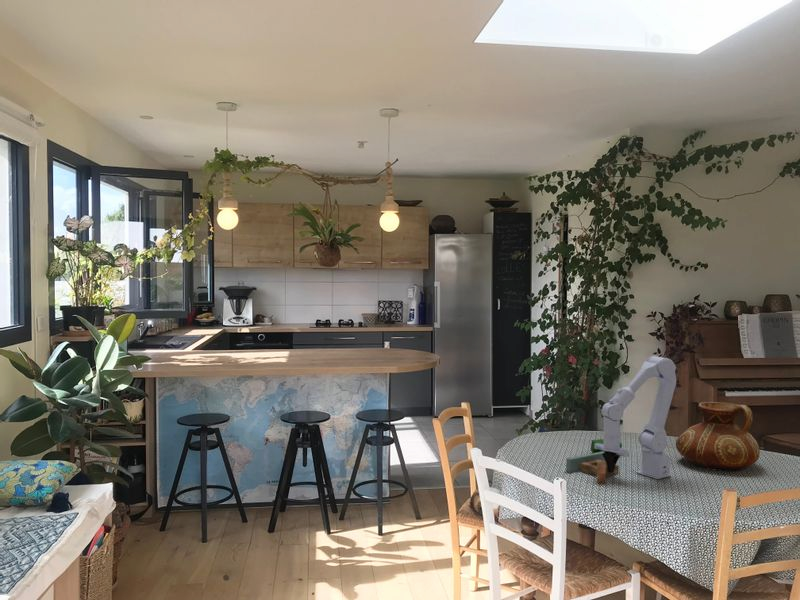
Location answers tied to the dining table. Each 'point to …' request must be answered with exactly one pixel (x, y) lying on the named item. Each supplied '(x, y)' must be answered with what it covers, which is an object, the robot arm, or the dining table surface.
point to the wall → (574, 462)
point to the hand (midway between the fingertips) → (611, 472)
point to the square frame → (595, 468)
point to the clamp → (599, 443)
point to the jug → (720, 439)
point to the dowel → (601, 472)
